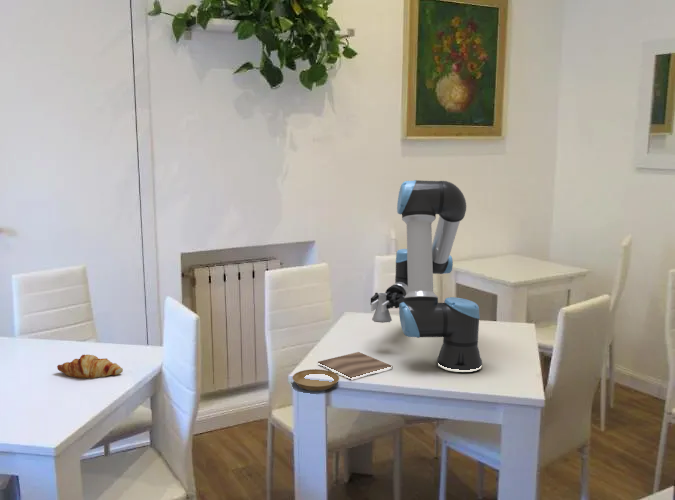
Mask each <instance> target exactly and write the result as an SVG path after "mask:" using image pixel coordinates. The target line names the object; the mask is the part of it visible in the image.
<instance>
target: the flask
mask: <svg viewBox="0 0 675 500" xmlns="http://www.w3.org/2000/svg"><path fill="white" fill-rule="evenodd" d="M377 293H378V295H379V301H378V306H377V309H375V310H374V313H373V314H372V315H373V316H372V319H371V321H373V322H374V323H380V324H383V323H391V322H392V320H393V319H392V316H391V313H390V311H389V309H387V310H386V311H385V312H381V309H382V304H383V303H385V302H386V296H387V294H386V293H385V292H377Z"/></svg>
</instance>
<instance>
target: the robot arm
mask: <svg viewBox="0 0 675 500" xmlns="http://www.w3.org/2000/svg"><path fill="white" fill-rule="evenodd" d="M396 206H397V207H396V212H397V214H398V215H401V220H402V221H403V222H404V223H405V224H406V248H400V249H398V250H397V251H396V254H395V278H394V281H395V282H394V283H393V284H392V285H390V286H389V287H388V288H387V289H386V290H385V292H384V293H386V294H387V296H386V302H385V303H383V304H382V309H381V312H385V311H386V310H387V309H388V310H389V309H392V308H395V309H399V310H398V313H399V321H400V327H401V329H402V330H401V331H402V333H403V334H404V336H406V337H407V338H417V339H419V338H443V340H442V342H443V343H442V345H441V348H440V350H439V354H438V356H437V358H436V359H437V362H438V363H439V364H440V365H442V366H444V367H447V368H451V369H459V370H470V369H476V368H479V367H480V366H481V365H482V366H483V359H482V357H481V354H480V349H479V329H480V328H479V327H480V326H479V325H480V319H481V317H480V307H479V305H478V304H477V302H475V301H474V300H473V301H472V300H470V299H466V298H461V297H456V296H455V297H454V296H452V297H451V296H450V297H446V298H445V299H444V300H443V301H444V302H439V297H438V296H437V294H435V292H434V274H435V275H442V274H443V275H444V274H451V273H452V271H453V257H452V255H451V252H452V249H453V245H454V241H455V238H456V236H457V232H458V228H459V225H460V222H461V221H463V220H464V218H465V215H466V214H467V213H466V212H467V202H466V198H465V196H464V193H463V192H462V190H461V189H460V188H459V187H458V186H457V185H456V184H454V183H452V182H450V181H447V180H417V179H414V180H405V181H403V182H402V183H401V184H400V186H399V191H398V197H397V205H396ZM437 215H439V217H438V221H437V224H436V229H435V231H434V236H432V235H433V233H432V230H433V229H432V223H434V222H435V220H436V218H437ZM432 237H433V238H432ZM378 293H379V292H374V295H373V296H371V297H370V310H371V312H375V310H376V309H377V306H378V301H379V295H378ZM437 362H436V363H437Z"/></svg>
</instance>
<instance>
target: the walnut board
mask: <svg viewBox="0 0 675 500" xmlns="http://www.w3.org/2000/svg"><path fill="white" fill-rule="evenodd" d="M318 363H320V364H322V365H325V366H327V367H329V368H331V369H334V370H336V371H338V372H340V373H342V374H344V375H346V376H348V377H350V378H352V377H356V376H360V375H363V374H366V373H370V372H373V371H377V370H380V369H384V368H387V367H391V366H392V365H391V364H389V363H386V362H383V361H381V360H379V359H377V358H374V357H372V356H369V355H367V354H365V353H362V352H359V351H357V352H353V353H349V354H344V355H341V356H336V357H331V358H328V359H323V360H319V361H317V364H318Z"/></svg>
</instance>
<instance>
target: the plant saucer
mask: <svg viewBox="0 0 675 500" xmlns="http://www.w3.org/2000/svg"><path fill="white" fill-rule="evenodd" d="M309 374H325V375H328V376H330V377H332V378H333V379H334V381H332V382H329V381H319V380H310V379H305V378H304V377H305V376H306V375H309ZM291 378H292V381H293V383H295V385H297V386H298V387H299V388H300V389H302V390H305V391H311V392H321V391H326V390H330V389H331V388H332V387H334V386H335V385H336V384H337V383H338V382H339V381H340V375H338V374H336V373H334V372H332V371H329V370H327V369H318V368H317V369H316V368H314V369H313V368H312V369H305V370H304V369H303V370H300V371H298V372H296V373H294V374H293V375H292V377H291Z"/></svg>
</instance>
